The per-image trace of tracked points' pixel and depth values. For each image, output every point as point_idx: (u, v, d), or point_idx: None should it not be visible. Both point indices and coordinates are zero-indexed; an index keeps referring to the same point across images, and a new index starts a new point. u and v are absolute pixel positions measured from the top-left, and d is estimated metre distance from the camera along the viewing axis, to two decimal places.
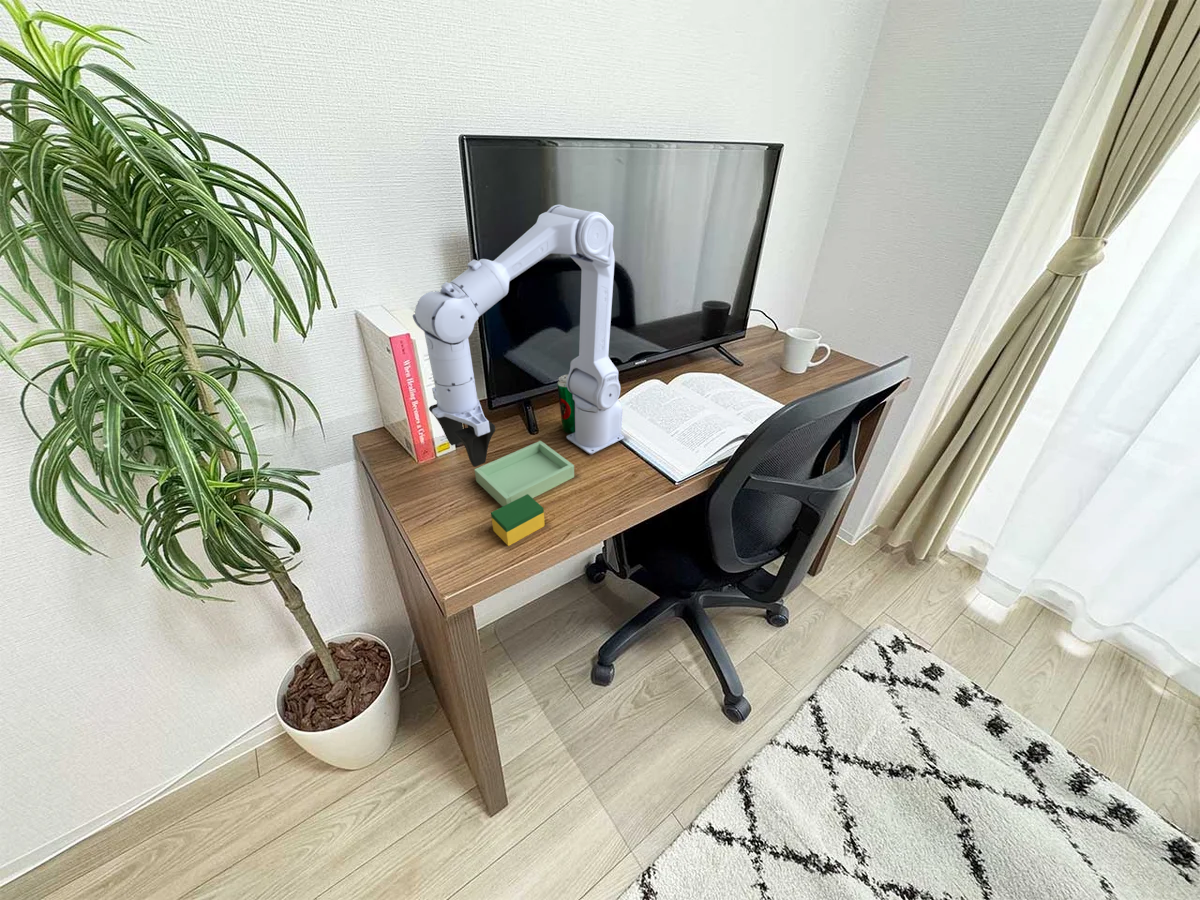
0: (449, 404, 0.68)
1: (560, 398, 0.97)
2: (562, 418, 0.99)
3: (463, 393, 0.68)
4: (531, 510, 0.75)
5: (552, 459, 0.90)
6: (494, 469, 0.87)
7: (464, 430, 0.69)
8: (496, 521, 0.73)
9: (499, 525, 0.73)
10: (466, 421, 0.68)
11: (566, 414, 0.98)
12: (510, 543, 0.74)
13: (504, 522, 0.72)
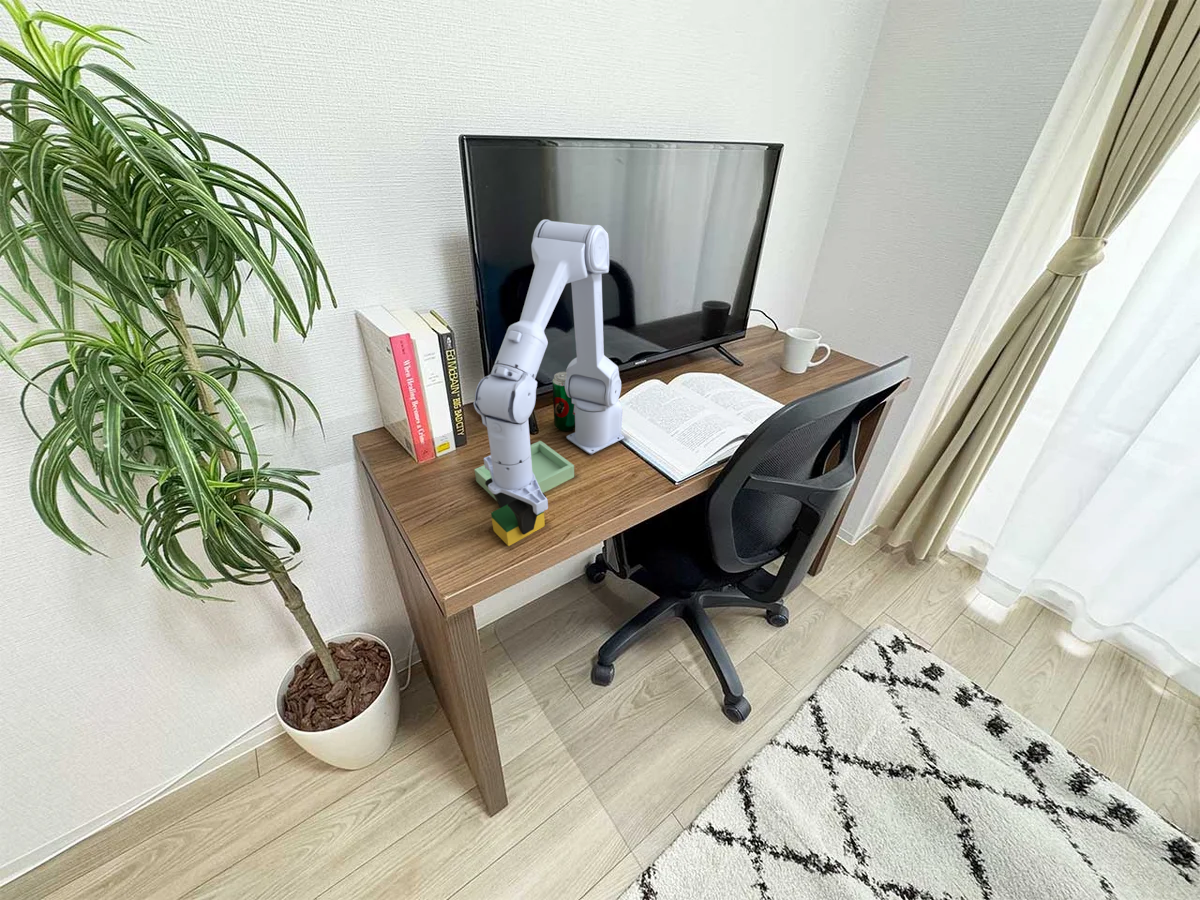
0: (507, 481, 0.68)
1: (557, 397, 0.96)
2: (558, 416, 0.99)
3: (522, 470, 0.67)
4: None
5: (552, 459, 0.90)
6: None
7: (516, 502, 0.69)
8: (496, 521, 0.73)
9: (499, 525, 0.73)
10: (524, 499, 0.67)
11: (564, 412, 0.98)
12: (510, 543, 0.74)
13: (504, 522, 0.72)
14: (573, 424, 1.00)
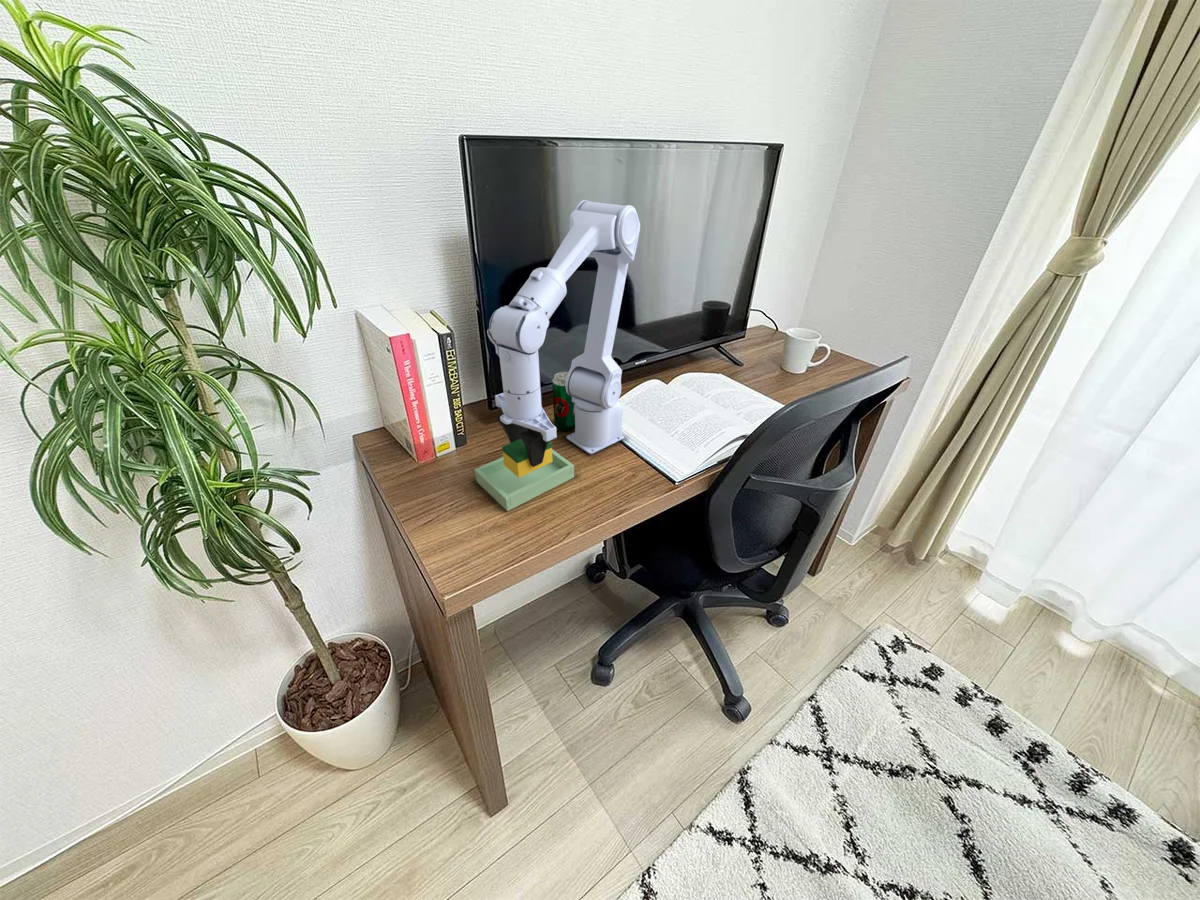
0: (518, 411, 0.72)
1: (557, 397, 0.96)
2: (558, 416, 0.99)
3: (532, 400, 0.72)
4: None
5: (552, 459, 0.90)
6: (494, 469, 0.87)
7: (527, 432, 0.74)
8: (507, 454, 0.78)
9: (510, 457, 0.78)
10: (535, 427, 0.72)
11: (564, 412, 0.98)
12: (520, 475, 0.78)
13: (515, 454, 0.77)
14: (573, 424, 1.00)
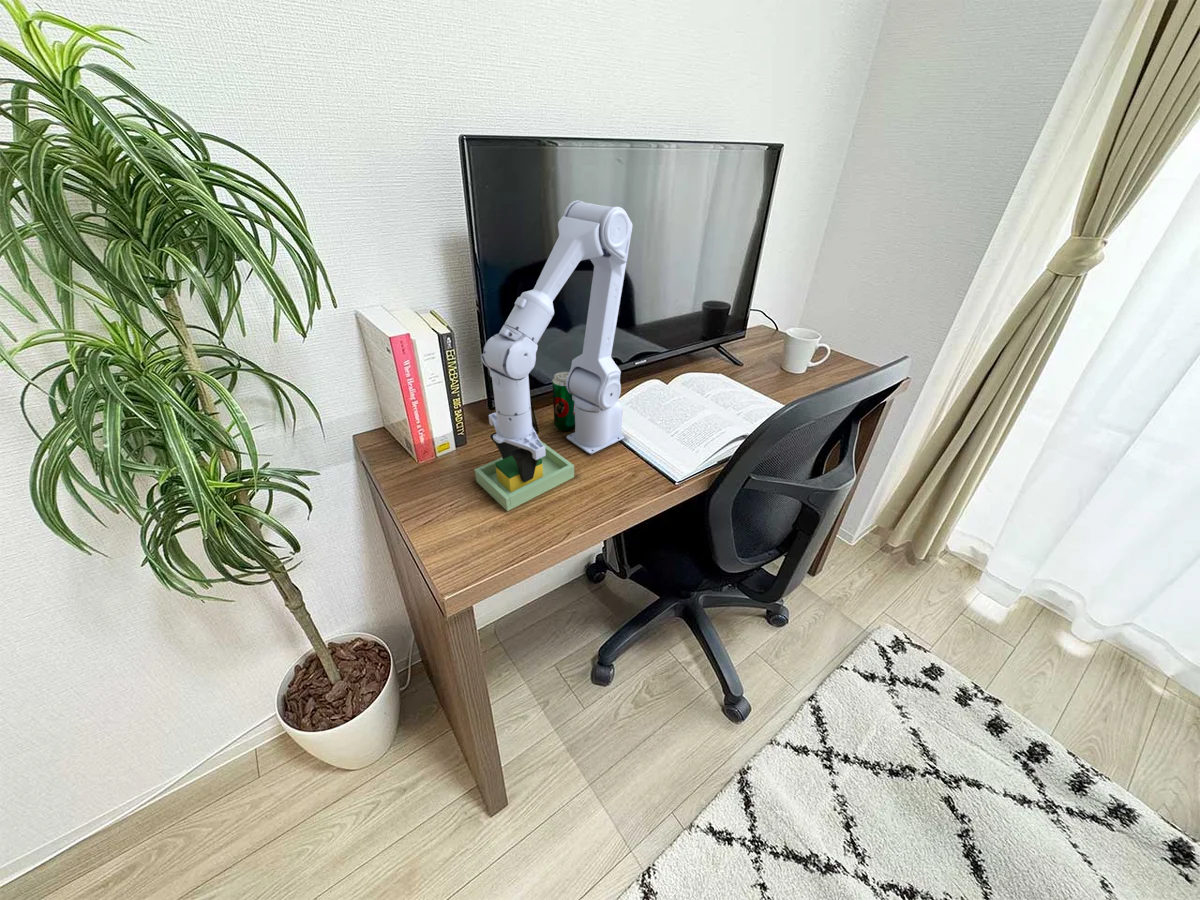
0: (510, 431, 0.77)
1: (557, 397, 0.96)
2: (558, 416, 0.99)
3: (522, 421, 0.77)
4: None
5: (552, 459, 0.90)
6: (494, 469, 0.87)
7: (518, 451, 0.79)
8: (500, 470, 0.83)
9: (503, 473, 0.83)
10: (525, 446, 0.77)
11: (564, 412, 0.98)
12: (512, 489, 0.83)
13: (507, 470, 0.82)
14: (573, 424, 1.00)
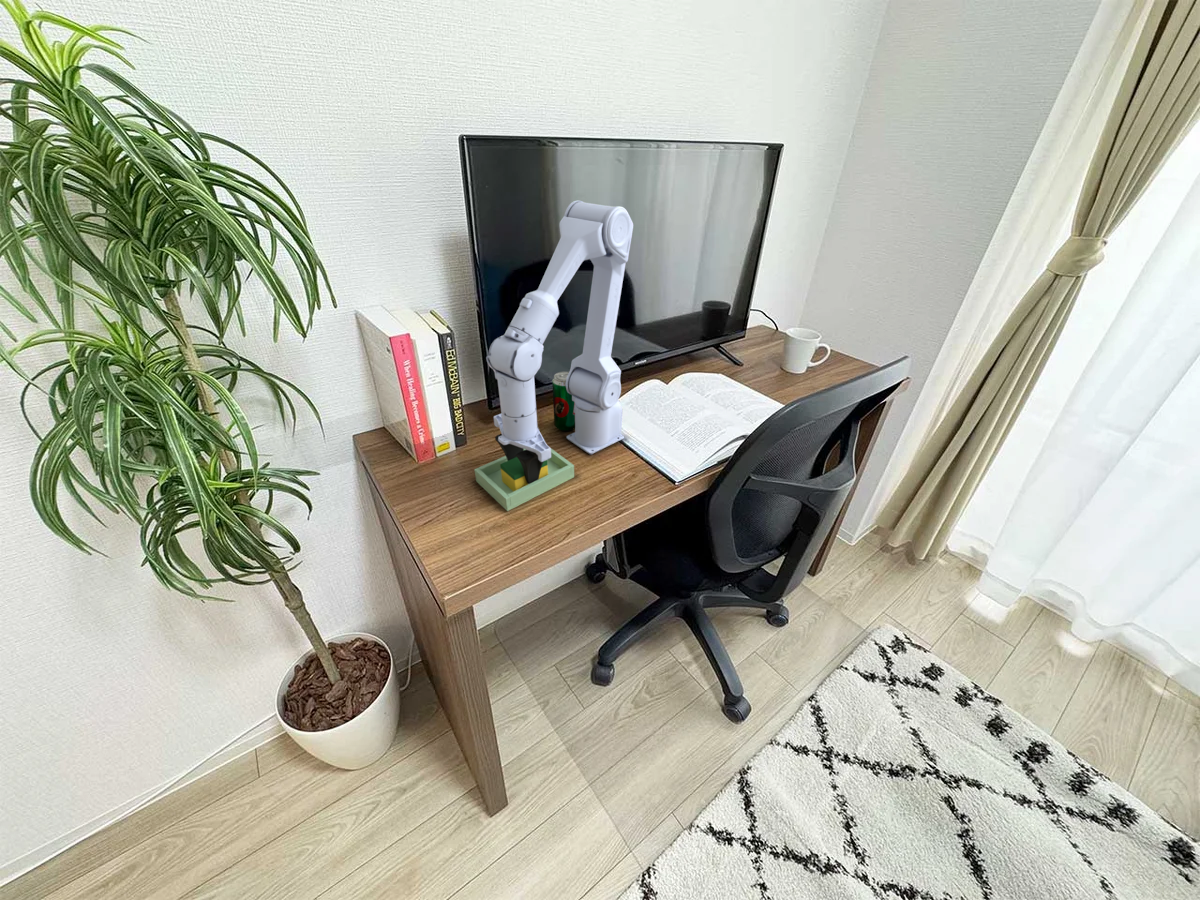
0: (515, 433, 0.77)
1: (557, 397, 0.96)
2: (558, 416, 0.99)
3: (528, 423, 0.76)
4: None
5: (552, 459, 0.90)
6: (494, 469, 0.87)
7: (523, 452, 0.78)
8: (505, 471, 0.82)
9: (508, 474, 0.82)
10: (531, 448, 0.76)
11: (564, 412, 0.98)
12: None
13: (512, 471, 0.81)
14: (573, 424, 1.00)
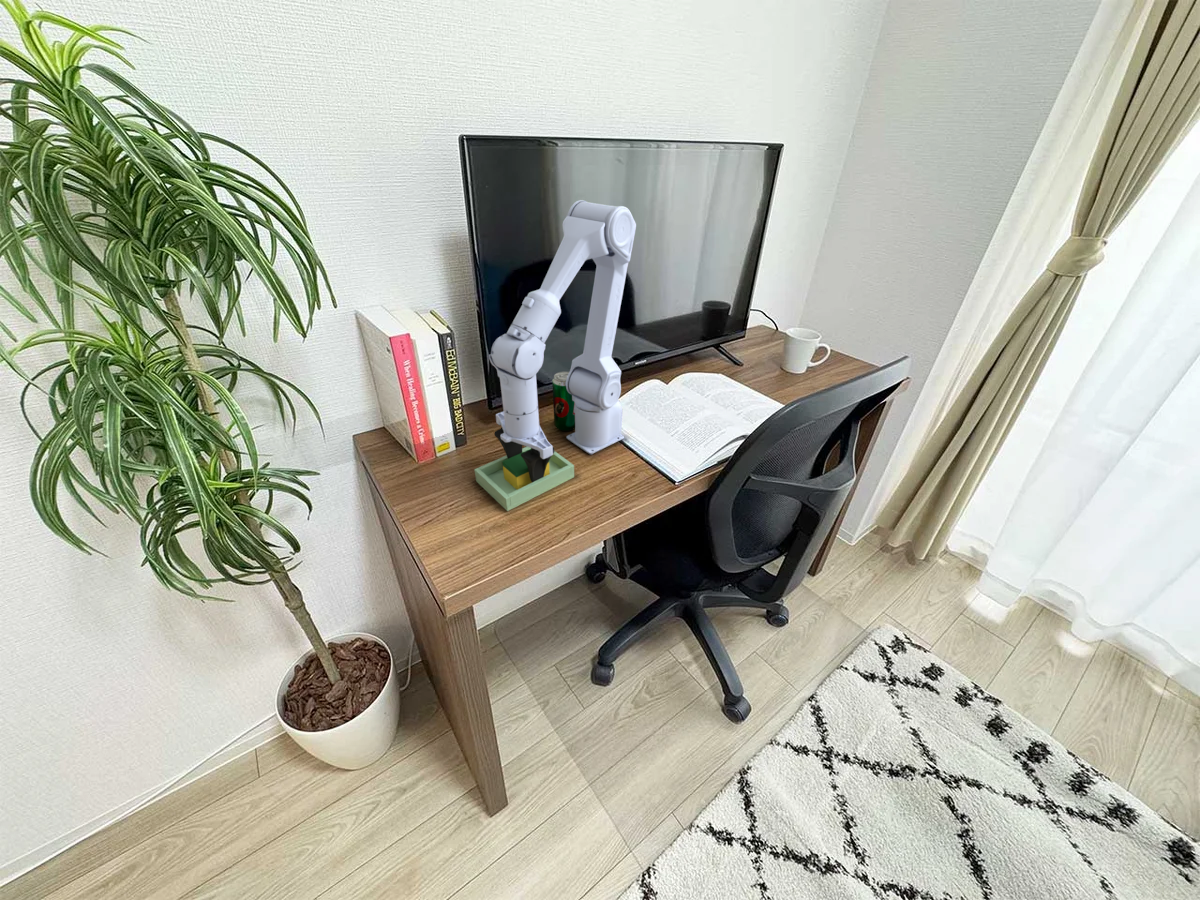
0: (517, 430, 0.77)
1: (557, 397, 0.96)
2: (558, 416, 0.99)
3: (530, 421, 0.77)
4: None
5: (552, 459, 0.90)
6: (494, 469, 0.87)
7: (528, 452, 0.79)
8: (507, 468, 0.83)
9: (510, 472, 0.83)
10: (532, 446, 0.77)
11: (564, 412, 0.98)
12: (519, 488, 0.83)
13: (514, 469, 0.82)
14: (573, 424, 1.00)
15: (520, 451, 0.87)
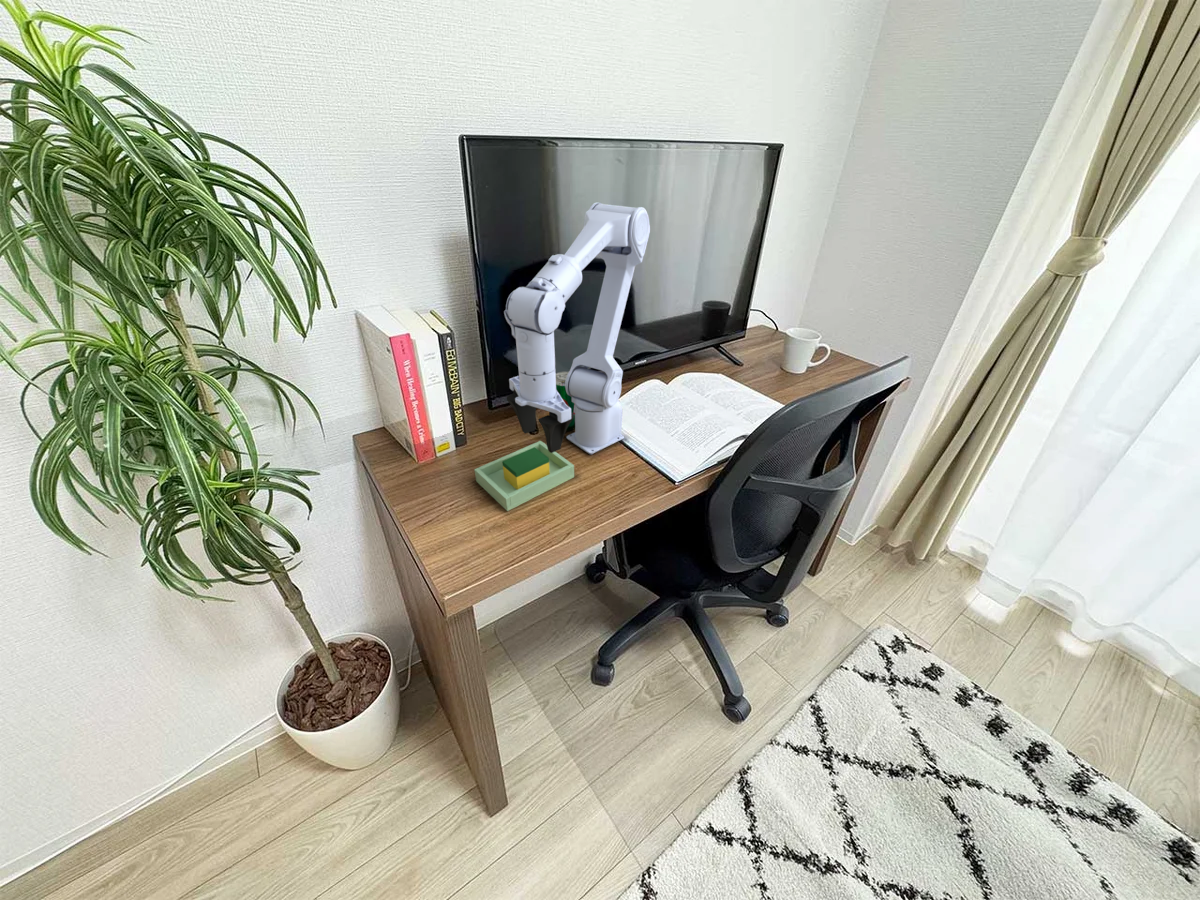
0: (533, 392, 0.73)
1: None
2: None
3: (547, 382, 0.72)
4: (538, 459, 0.84)
5: (552, 459, 0.90)
6: (494, 469, 0.87)
7: (546, 417, 0.74)
8: (507, 468, 0.83)
9: (510, 472, 0.83)
10: (550, 409, 0.72)
11: None
12: (519, 488, 0.83)
13: (514, 469, 0.82)
14: (573, 424, 1.00)
15: (533, 418, 0.83)
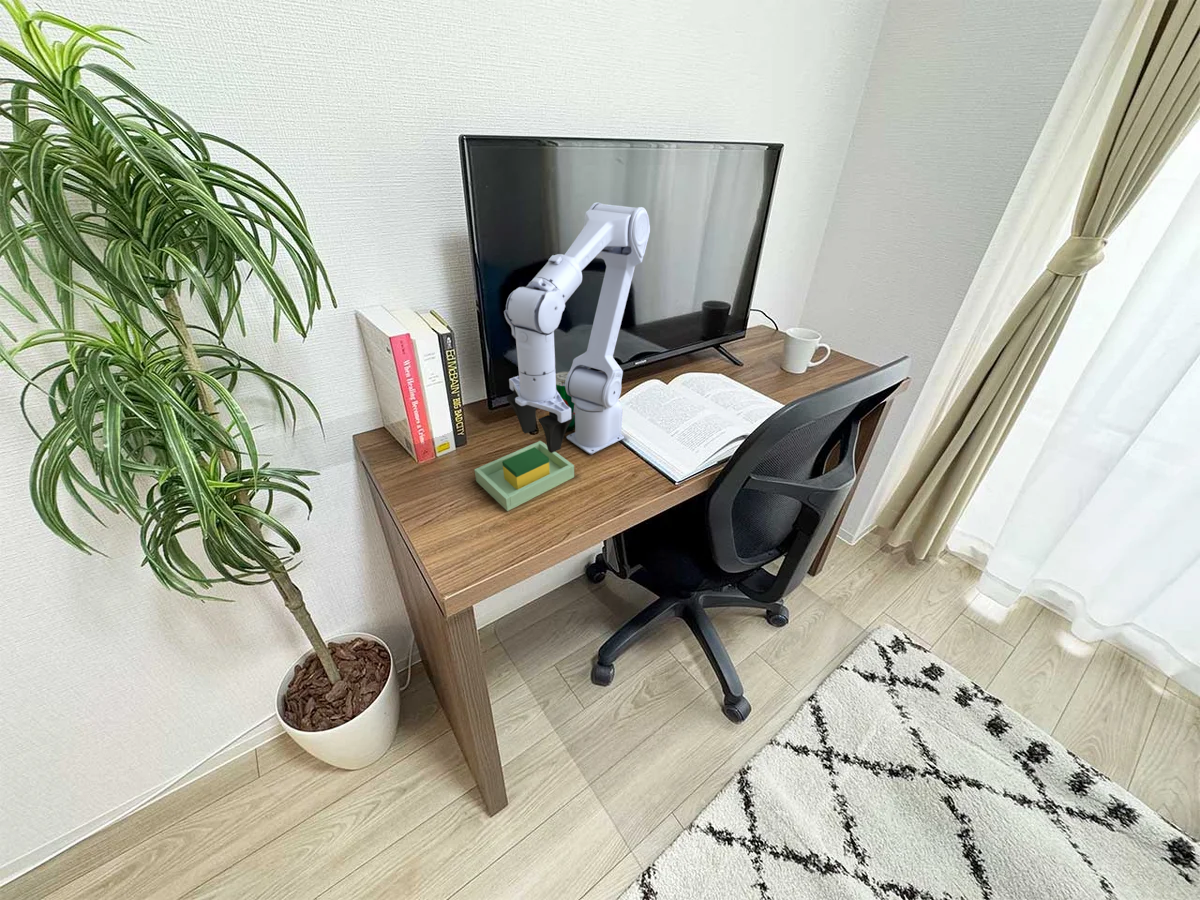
0: (533, 392, 0.73)
1: None
2: None
3: (547, 382, 0.72)
4: (538, 459, 0.84)
5: (552, 459, 0.90)
6: (494, 469, 0.87)
7: (546, 417, 0.74)
8: (507, 468, 0.83)
9: (510, 472, 0.83)
10: (550, 409, 0.72)
11: None
12: (519, 488, 0.83)
13: (514, 469, 0.82)
14: (573, 424, 1.00)
15: (533, 418, 0.83)
